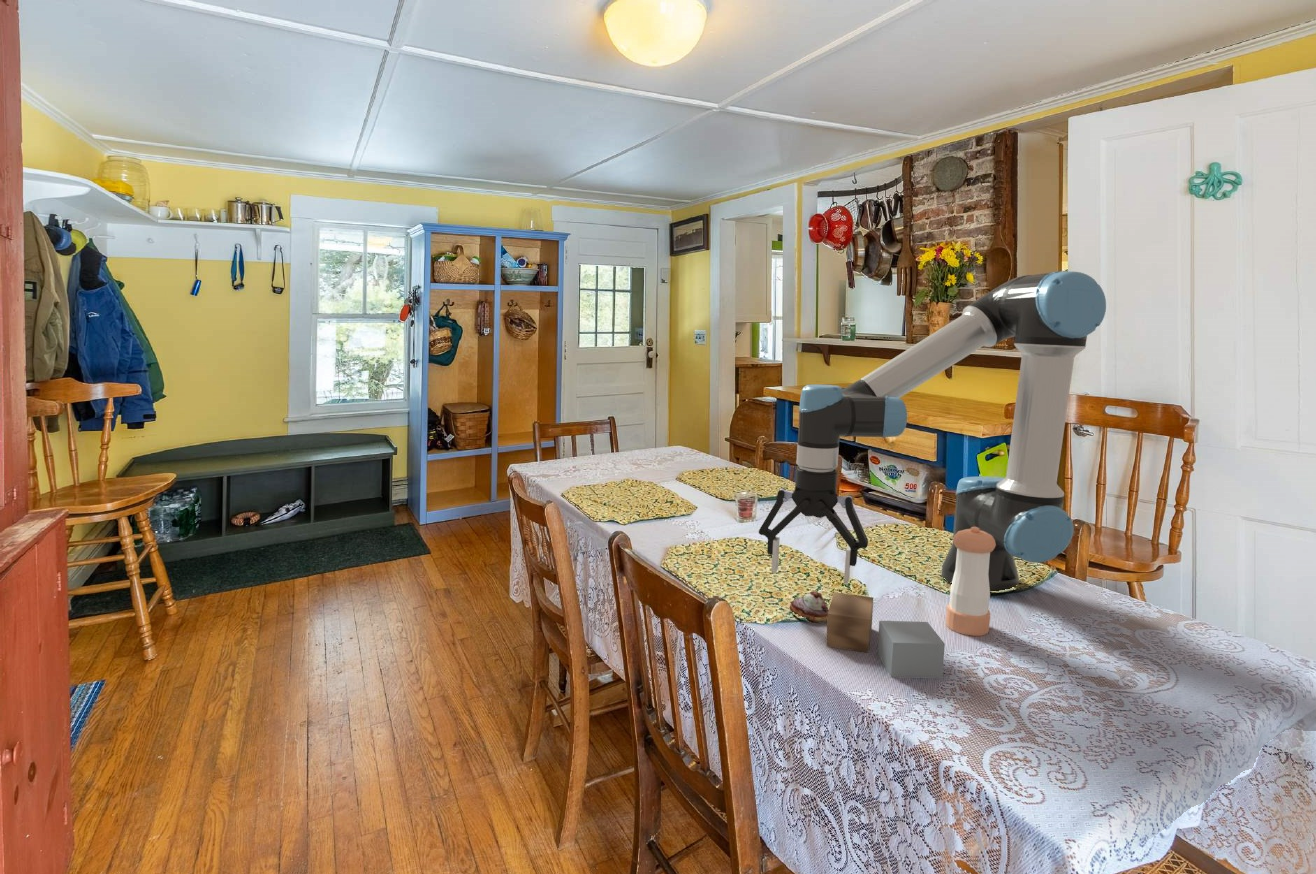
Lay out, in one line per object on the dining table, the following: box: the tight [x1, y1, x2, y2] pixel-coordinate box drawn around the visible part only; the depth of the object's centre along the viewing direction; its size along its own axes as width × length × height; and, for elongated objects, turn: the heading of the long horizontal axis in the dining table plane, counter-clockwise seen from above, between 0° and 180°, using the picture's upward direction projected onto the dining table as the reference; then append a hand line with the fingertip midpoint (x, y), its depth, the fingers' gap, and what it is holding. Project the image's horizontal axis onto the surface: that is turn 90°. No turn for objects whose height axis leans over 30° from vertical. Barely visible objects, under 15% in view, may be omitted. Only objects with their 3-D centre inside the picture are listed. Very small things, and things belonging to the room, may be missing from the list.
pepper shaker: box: [945, 527, 996, 637], centre depth 124 cm, size 7×7×19 cm
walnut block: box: [825, 591, 874, 654], centre depth 121 cm, size 7×10×6 cm
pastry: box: [789, 590, 829, 624], centre depth 131 cm, size 8×8×5 cm
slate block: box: [876, 620, 946, 679], centre depth 111 cm, size 8×8×6 cm
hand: (810, 576), depth 130 cm, fingers open, 13 cm apart
